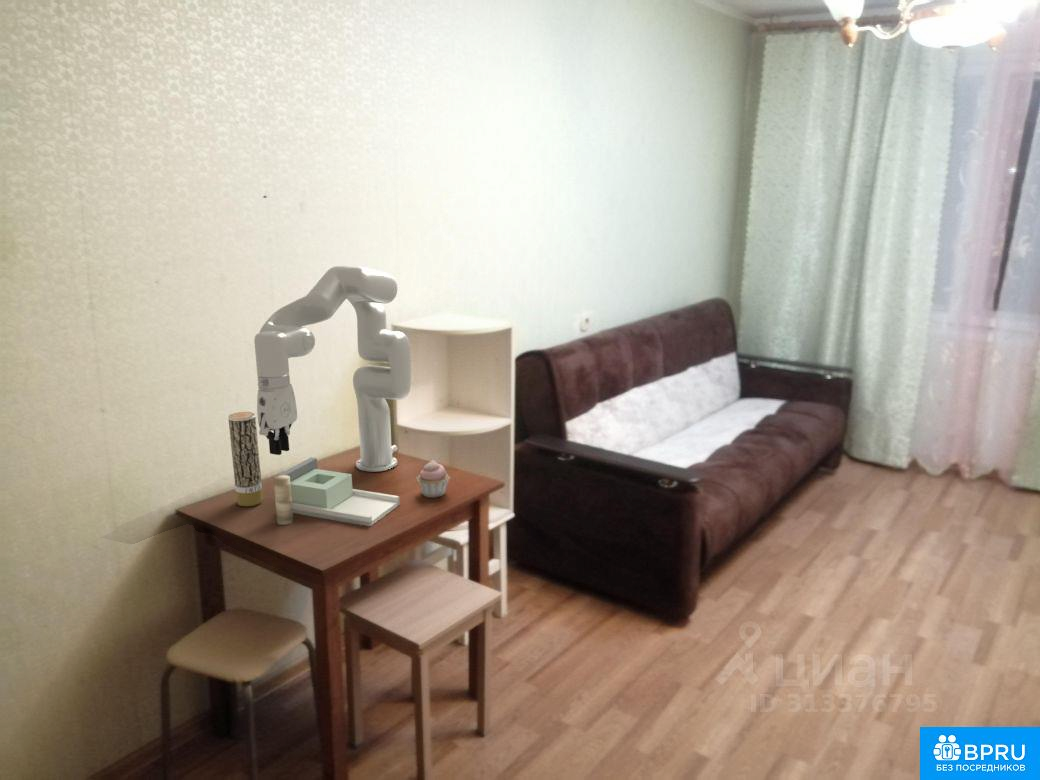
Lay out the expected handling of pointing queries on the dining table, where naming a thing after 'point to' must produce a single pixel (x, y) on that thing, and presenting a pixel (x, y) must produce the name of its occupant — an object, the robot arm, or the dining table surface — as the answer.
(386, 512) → the rail base
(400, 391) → the robot arm
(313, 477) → the slide block
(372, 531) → the dining table surface
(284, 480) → the dowel
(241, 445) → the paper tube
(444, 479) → the cupcake
